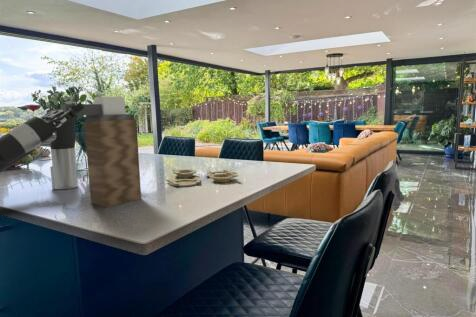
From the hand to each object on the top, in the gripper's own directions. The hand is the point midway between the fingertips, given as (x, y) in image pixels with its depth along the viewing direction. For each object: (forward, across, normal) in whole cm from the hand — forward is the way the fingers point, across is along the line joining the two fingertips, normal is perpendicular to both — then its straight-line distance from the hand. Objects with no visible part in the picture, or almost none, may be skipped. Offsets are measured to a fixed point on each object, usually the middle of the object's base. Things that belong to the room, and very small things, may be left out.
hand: (78, 105), depth 108 cm
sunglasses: (+10, +56, +46) cm, 73 cm away
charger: (+3, 0, +5) cm, 6 cm away
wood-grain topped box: (-7, 0, +35) cm, 36 cm away
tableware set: (+33, +1, +59) cm, 67 cm away
